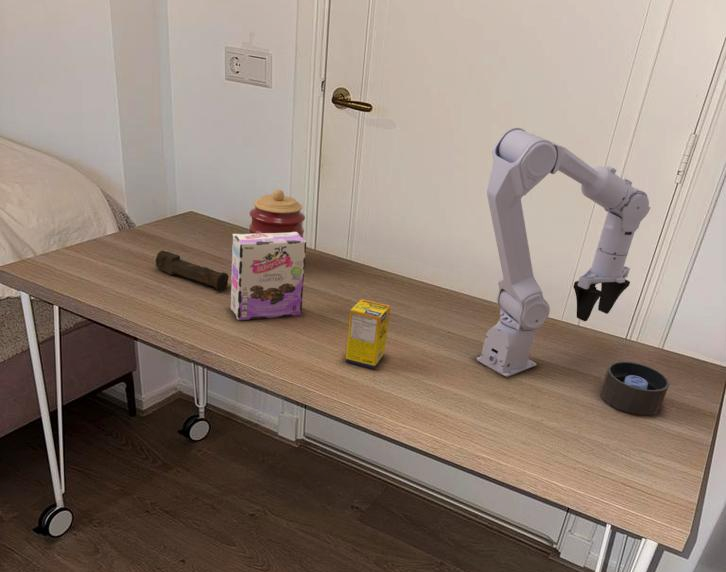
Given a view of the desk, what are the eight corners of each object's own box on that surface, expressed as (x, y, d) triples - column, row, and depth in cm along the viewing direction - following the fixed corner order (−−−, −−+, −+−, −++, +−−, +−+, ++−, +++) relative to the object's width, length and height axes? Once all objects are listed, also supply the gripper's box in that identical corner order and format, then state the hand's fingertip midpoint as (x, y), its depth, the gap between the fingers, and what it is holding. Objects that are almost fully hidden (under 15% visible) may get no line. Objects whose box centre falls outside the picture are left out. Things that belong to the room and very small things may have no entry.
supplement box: (384, 357, 138) (391, 305, 132) (374, 370, 133) (381, 316, 127) (355, 349, 139) (361, 297, 133) (344, 362, 134) (350, 309, 129)
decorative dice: (618, 400, 132) (625, 382, 130) (620, 391, 136) (626, 372, 133) (640, 406, 131) (647, 388, 129) (641, 397, 135) (648, 378, 132)
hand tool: (229, 288, 158) (230, 268, 155) (218, 293, 154) (218, 273, 152) (165, 265, 165) (164, 246, 162) (152, 269, 162) (151, 250, 159)
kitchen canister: (299, 275, 168) (304, 200, 159) (244, 269, 168) (246, 194, 159) (303, 256, 180) (308, 185, 170) (252, 250, 179) (254, 179, 170)
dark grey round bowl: (639, 423, 127) (649, 397, 124) (588, 395, 134) (596, 370, 131) (670, 406, 134) (680, 381, 131) (619, 381, 140) (628, 356, 137)
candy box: (237, 321, 144) (239, 243, 135) (229, 309, 148) (231, 232, 140) (302, 316, 150) (307, 240, 141) (292, 304, 154) (297, 230, 145)
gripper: (609, 263, 129) (588, 330, 136) (650, 251, 137) (629, 316, 145) (577, 250, 133) (558, 316, 140) (619, 240, 142) (599, 303, 149)
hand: (592, 315), depth 143 cm, fingers open, 7 cm apart
